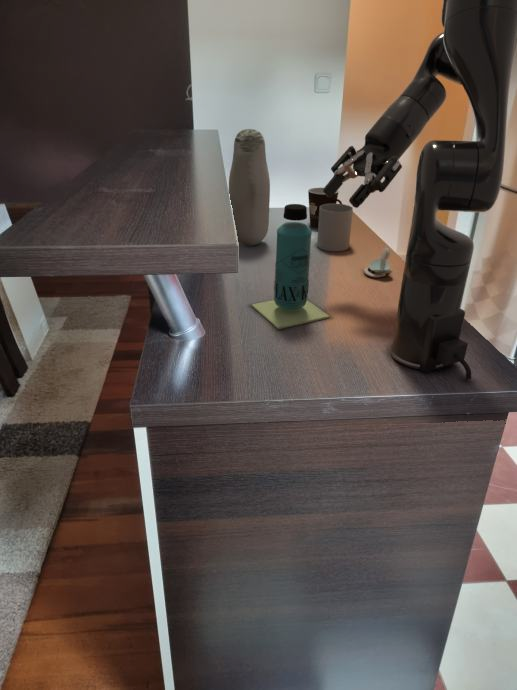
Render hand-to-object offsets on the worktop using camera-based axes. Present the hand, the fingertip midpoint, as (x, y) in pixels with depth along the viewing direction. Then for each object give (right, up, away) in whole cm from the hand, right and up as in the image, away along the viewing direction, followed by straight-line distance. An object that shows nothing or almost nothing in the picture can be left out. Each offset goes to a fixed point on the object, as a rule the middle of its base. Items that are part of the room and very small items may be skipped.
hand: (339, 199), depth 95 cm
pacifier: (+12, -11, +22) cm, 28 cm away
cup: (+5, -1, +39) cm, 40 cm away
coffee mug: (+4, +7, +54) cm, 55 cm away
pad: (-9, -21, +4) cm, 23 cm away
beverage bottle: (-9, -20, +4) cm, 22 cm away
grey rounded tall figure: (-17, 0, +40) cm, 44 cm away
